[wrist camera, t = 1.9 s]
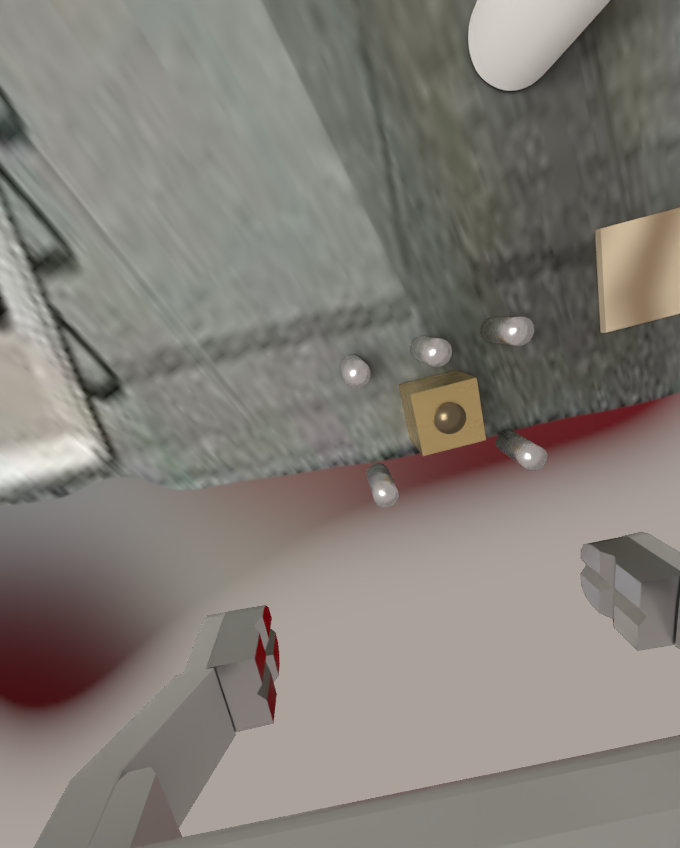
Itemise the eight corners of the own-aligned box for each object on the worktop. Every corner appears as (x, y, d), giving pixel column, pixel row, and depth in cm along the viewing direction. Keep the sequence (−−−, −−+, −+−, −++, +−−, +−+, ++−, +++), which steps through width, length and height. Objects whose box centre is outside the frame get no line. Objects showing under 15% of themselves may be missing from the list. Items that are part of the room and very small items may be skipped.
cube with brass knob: (455, 369, 31) (478, 378, 26) (464, 424, 32) (487, 441, 28) (398, 384, 31) (411, 395, 27) (409, 438, 33) (424, 457, 28)
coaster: (696, 203, 28) (704, 200, 28) (694, 308, 31) (701, 307, 30) (595, 230, 29) (600, 228, 28) (600, 332, 31) (605, 332, 30)
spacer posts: (502, 314, 30) (532, 313, 26) (519, 448, 33) (548, 467, 29) (337, 358, 30) (339, 363, 26) (369, 486, 33) (376, 510, 29)
